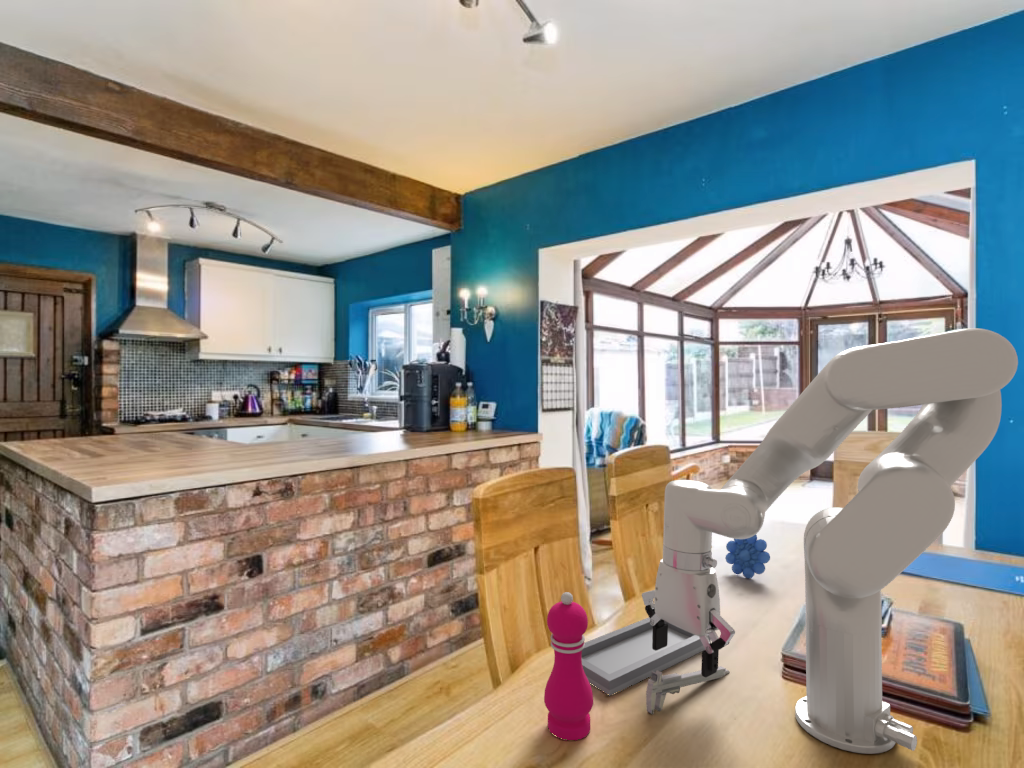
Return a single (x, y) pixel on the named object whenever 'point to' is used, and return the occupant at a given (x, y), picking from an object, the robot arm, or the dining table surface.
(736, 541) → the blue bumpy cluster
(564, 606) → the pepper mill
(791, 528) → the dining table surface
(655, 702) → the caliper
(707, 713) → the dining table surface
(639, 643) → the tool case
